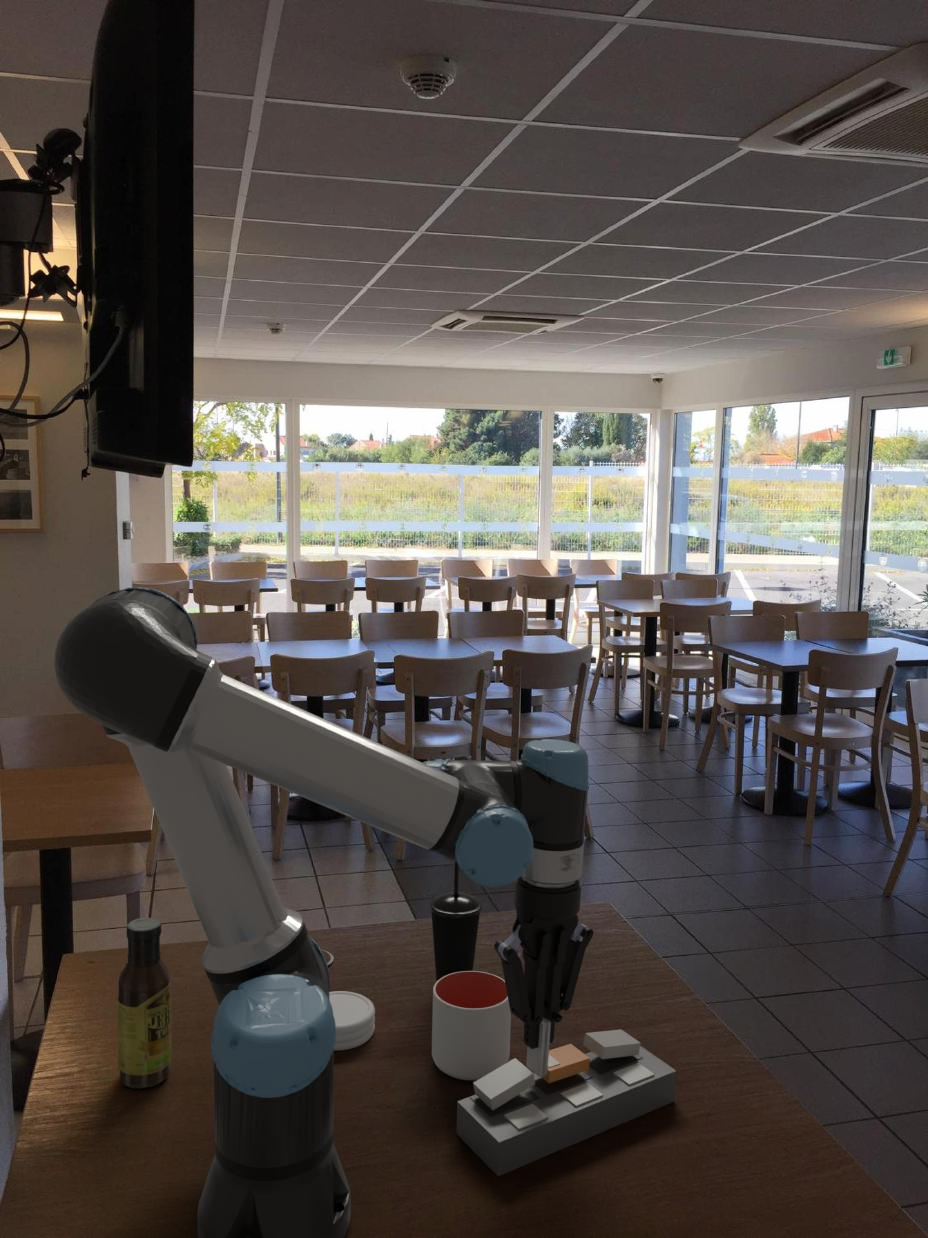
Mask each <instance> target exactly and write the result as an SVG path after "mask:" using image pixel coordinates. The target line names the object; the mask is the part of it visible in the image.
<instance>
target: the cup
mask: <svg viewBox="0 0 928 1238" xmlns="http://www.w3.org/2000/svg"><path fill="white" fill-rule="evenodd" d="M431 1016H432V1021H431V1026H432V1027H431V1029H432V1030H431V1056H432V1060H433V1062H434V1064H435V1065H436V1068H438V1069H439V1070H440V1071H441V1072H442V1073H443V1074H446V1075H447V1076H449V1077H452V1078H455V1079H457V1080H462V1081H477V1080H479V1079H480V1078H482V1077H484V1076H486V1075H487V1074H489V1073H491V1072H492V1071H494V1070H496V1069H497V1068H499V1067H501V1066H502V1065H504V1064H506V1063H508V1062H509V1061H510V1053H511V1051H510V1050H511V1019H512V1013H511V1011H510V1006H509V1001H508V995H507V990H506V984H505V979H503V978H501V977H500V976H498V975H496V974H492V973H489V972H485V971H479V970H478V971H477V970H473V971H462V972H456V973H452V974H449V975H446V976H444V977H442V978H441V979H439V980H438V981H437V982H435V983H434V985H433V988H432V1015H431Z"/></svg>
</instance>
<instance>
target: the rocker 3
mask: <svg viewBox="0 0 928 1238" xmlns="http://www.w3.org/2000/svg"><path fill="white" fill-rule="evenodd" d="M582 1043H583V1044H582V1045H583V1046H584V1047H585V1048H586V1049H588V1050H589V1051H590V1052H593V1053H595V1054H596V1055H597V1056H599V1057H600V1058H601V1059H608V1058H616V1057H625V1056H633V1055H638V1054H639V1049H640V1046H641V1045H642V1043H641V1042H640V1041H638V1040H637V1039H636V1038H634V1037H633V1036H631V1035H630V1034H629V1033H627V1032H626V1031H624V1030H623V1029H613V1030H612V1029H611V1030H602V1031H594V1032H593V1031H592V1032H585V1034H584V1039H583V1042H582Z"/></svg>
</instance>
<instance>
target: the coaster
mask: <svg viewBox="0 0 928 1238" xmlns="http://www.w3.org/2000/svg"><path fill="white" fill-rule="evenodd" d="M329 999H330V1003H331V1006H332V1009H333V1017H334V1019H335V1025H336V1041H335V1045H334V1052H337V1051H338V1052H339V1051H346V1050H351V1049H354V1048H357V1047H359V1046H361V1045H363V1044H365V1043H366V1042H368V1041H369V1040H370V1039H371V1038H372V1036H373V1035H374V1032H375V1028H376V1026H375V1025H376V1024H375V1022H376V1016H375V1014H376V1009H375V1005H374V1003H373V1002H372V1001H371V1000H370V999H369V998H368V997H366V996H364V995H363V994H361V993H357V992H353V991H346V990H345V991H344V990H340V991H339V990H337V991H335V990H334V991H330V992H329Z"/></svg>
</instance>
